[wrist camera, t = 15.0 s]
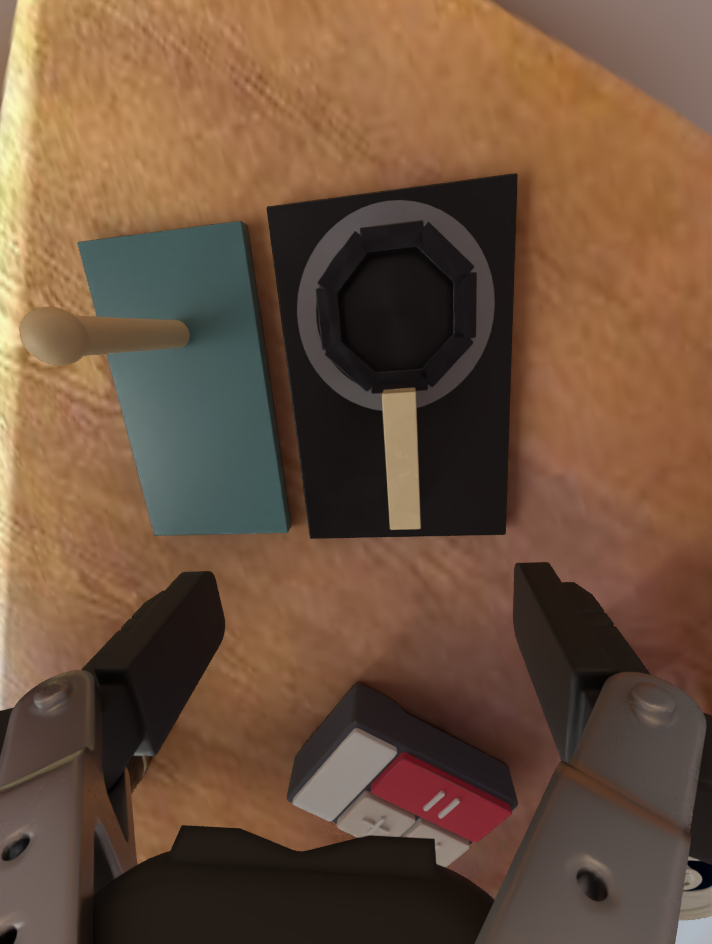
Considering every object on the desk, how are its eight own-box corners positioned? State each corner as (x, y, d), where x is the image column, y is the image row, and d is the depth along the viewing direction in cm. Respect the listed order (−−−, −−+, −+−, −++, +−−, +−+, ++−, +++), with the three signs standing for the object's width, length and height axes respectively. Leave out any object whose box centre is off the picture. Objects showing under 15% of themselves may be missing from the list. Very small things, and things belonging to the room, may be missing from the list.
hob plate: (312, 532, 30) (309, 539, 29) (271, 211, 23) (265, 205, 22) (502, 528, 28) (506, 535, 27) (512, 179, 22) (518, 171, 20)
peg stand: (161, 529, 31) (32, 635, 20) (89, 245, 25) (-150, 182, 14) (291, 526, 30) (226, 638, 19) (247, 224, 24) (115, 138, 13)
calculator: (439, 883, 35) (281, 811, 33) (433, 824, 39) (293, 757, 37) (524, 815, 31) (352, 730, 29) (508, 758, 35) (356, 680, 33)
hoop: (314, 238, 22) (301, 226, 20) (474, 218, 21) (483, 203, 19) (341, 512, 28) (335, 531, 25) (471, 508, 26) (479, 528, 24)
